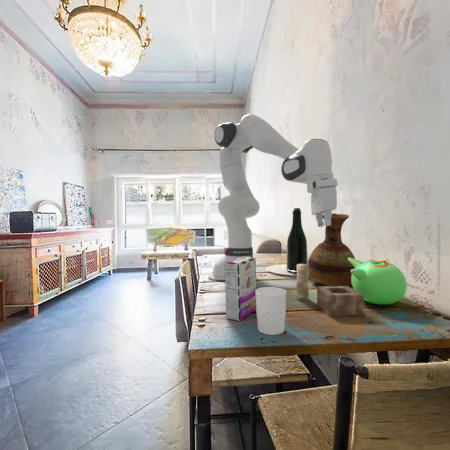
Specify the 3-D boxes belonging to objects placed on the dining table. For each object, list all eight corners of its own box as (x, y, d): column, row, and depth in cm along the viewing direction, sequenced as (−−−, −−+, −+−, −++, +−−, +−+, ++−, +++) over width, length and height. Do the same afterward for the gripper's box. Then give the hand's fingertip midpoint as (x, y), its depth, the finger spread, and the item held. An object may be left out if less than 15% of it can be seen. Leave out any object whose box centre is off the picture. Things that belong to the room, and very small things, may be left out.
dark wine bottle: (296, 268, 148) (296, 208, 147) (311, 271, 140) (311, 207, 138) (282, 270, 143) (282, 208, 142) (297, 274, 134) (297, 207, 133)
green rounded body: (414, 314, 79) (415, 264, 78) (350, 308, 84) (351, 261, 84) (396, 296, 96) (397, 255, 95) (344, 293, 101) (345, 253, 101)
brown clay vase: (310, 289, 107) (310, 213, 106) (304, 277, 127) (304, 213, 126) (364, 291, 103) (364, 212, 102) (349, 279, 123) (349, 213, 122)
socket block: (328, 316, 78) (328, 295, 78) (317, 304, 88) (317, 286, 88) (363, 315, 78) (363, 295, 78) (347, 304, 88) (347, 286, 88)
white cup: (267, 339, 64) (267, 297, 64) (249, 327, 71) (249, 289, 71) (293, 332, 68) (293, 292, 67) (273, 321, 75) (273, 285, 74)
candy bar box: (243, 307, 87) (242, 256, 86) (257, 310, 84) (256, 257, 83) (224, 318, 77) (223, 261, 77) (239, 322, 74) (239, 262, 74)
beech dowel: (298, 301, 92) (298, 266, 92) (295, 297, 96) (295, 263, 96) (310, 300, 92) (310, 265, 92) (306, 297, 96) (306, 263, 96)
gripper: (305, 191, 103) (308, 227, 102) (317, 180, 83) (321, 225, 82) (322, 190, 102) (325, 226, 102) (338, 178, 82) (343, 224, 81)
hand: (324, 226), depth 92 cm, fingers open, 8 cm apart
